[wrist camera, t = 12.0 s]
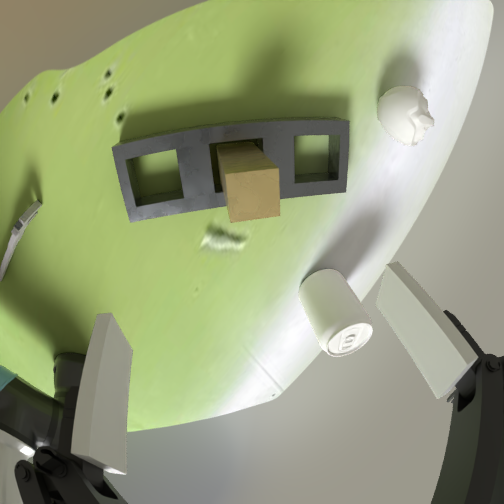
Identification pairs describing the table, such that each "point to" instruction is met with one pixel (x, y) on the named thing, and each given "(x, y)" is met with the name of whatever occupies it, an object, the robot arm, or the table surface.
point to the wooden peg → (248, 182)
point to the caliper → (18, 235)
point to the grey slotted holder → (200, 170)
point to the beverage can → (335, 313)
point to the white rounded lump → (404, 114)
